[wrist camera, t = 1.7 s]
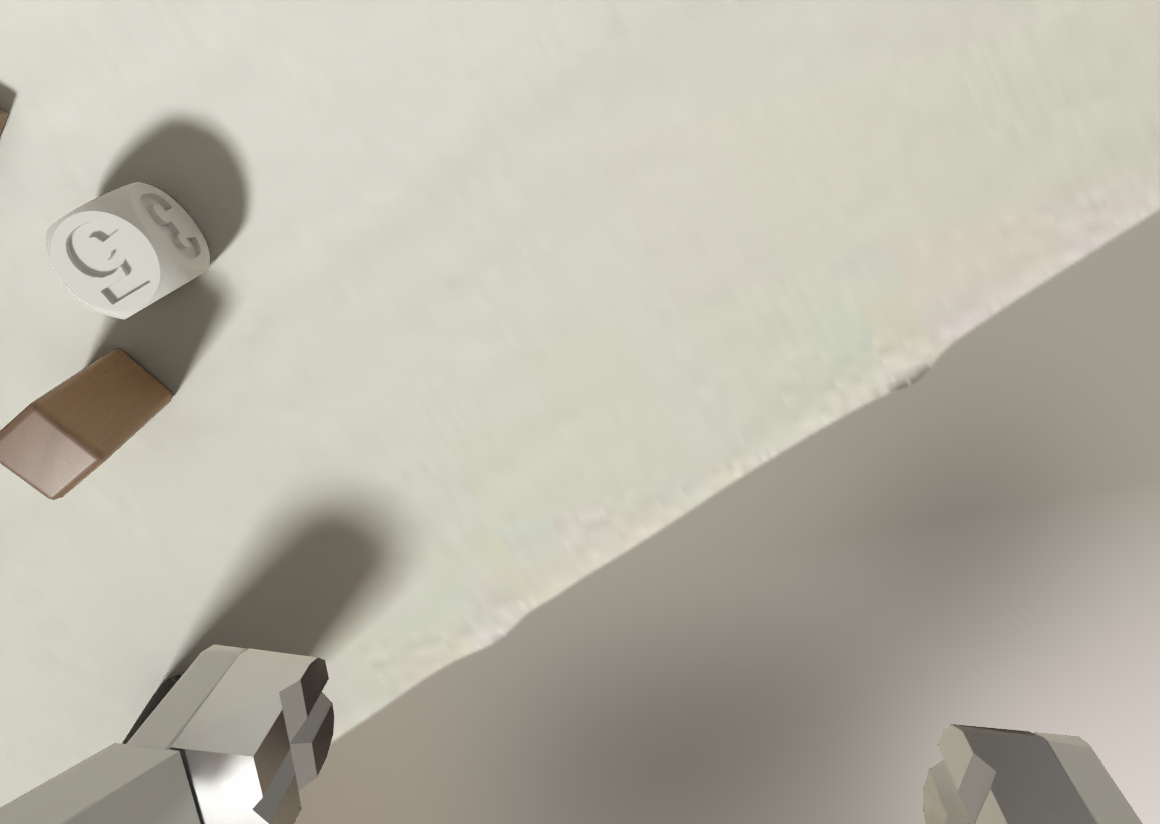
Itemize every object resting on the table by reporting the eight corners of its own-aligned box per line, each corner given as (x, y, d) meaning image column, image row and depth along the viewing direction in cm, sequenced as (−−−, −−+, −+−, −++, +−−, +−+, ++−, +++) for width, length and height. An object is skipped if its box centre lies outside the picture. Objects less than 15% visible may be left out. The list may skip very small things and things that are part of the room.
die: (151, 303, 39) (103, 331, 34) (83, 222, 37) (22, 241, 32) (225, 260, 38) (186, 282, 33) (160, 175, 36) (109, 187, 31)
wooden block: (73, 385, 40) (-24, 450, 33) (119, 344, 39) (31, 401, 32) (132, 433, 42) (52, 505, 34) (177, 394, 41) (106, 460, 34)
